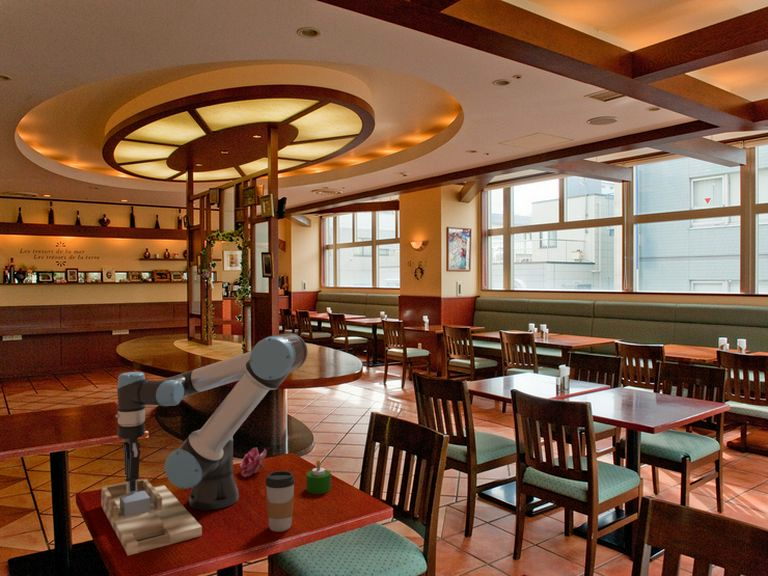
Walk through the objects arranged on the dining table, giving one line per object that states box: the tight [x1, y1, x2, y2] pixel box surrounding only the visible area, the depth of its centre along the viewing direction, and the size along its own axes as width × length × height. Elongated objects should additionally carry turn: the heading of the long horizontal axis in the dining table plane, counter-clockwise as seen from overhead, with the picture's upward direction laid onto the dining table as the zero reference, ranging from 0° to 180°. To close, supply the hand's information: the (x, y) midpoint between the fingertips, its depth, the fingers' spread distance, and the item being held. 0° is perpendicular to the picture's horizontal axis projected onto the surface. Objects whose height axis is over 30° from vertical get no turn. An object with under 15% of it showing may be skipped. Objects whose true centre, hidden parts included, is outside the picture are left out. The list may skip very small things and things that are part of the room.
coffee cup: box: [265, 470, 296, 533], centre depth 158 cm, size 8×8×15 cm
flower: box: [239, 447, 268, 478], centre depth 203 cm, size 11×10×10 cm
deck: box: [100, 477, 203, 556], centre depth 162 cm, size 39×19×6 cm, turn 36°
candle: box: [305, 459, 332, 495], centre depth 187 cm, size 8×8×10 cm
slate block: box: [120, 491, 150, 517], centre depth 163 cm, size 7×7×4 cm
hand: (131, 500), depth 167 cm, fingers closed
